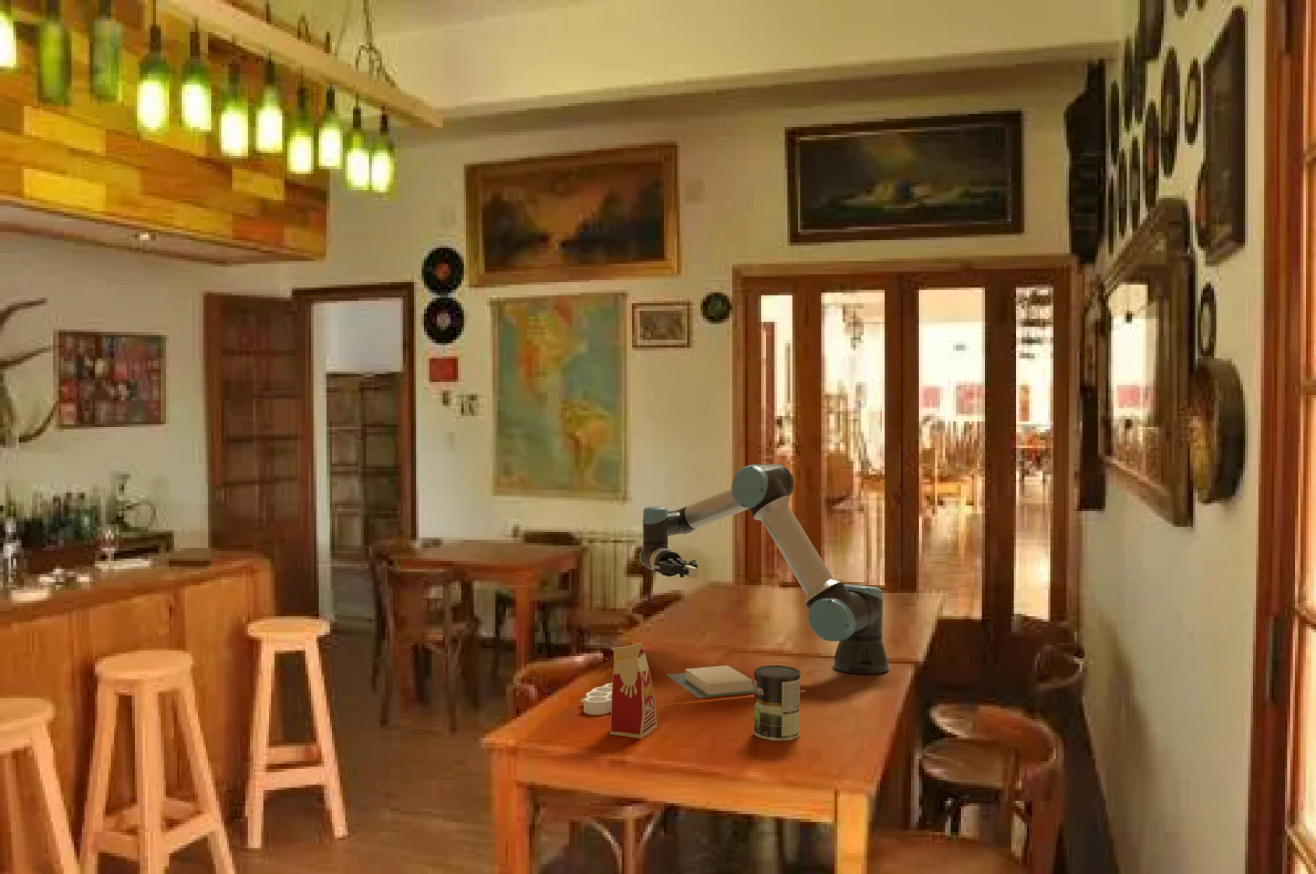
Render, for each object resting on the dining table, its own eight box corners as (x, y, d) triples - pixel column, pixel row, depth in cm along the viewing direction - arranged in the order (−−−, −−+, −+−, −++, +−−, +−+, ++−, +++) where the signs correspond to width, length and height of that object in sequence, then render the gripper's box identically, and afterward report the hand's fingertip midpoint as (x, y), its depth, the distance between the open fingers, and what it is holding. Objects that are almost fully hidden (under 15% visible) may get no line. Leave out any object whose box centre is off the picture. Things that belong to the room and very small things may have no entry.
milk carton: (657, 726, 232) (656, 639, 231) (643, 739, 223) (643, 648, 223) (619, 722, 235) (619, 636, 234) (604, 734, 226) (604, 644, 226)
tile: (685, 669, 270) (708, 684, 255) (727, 665, 274) (752, 680, 259) (685, 680, 270) (708, 696, 255) (727, 676, 274) (752, 691, 259)
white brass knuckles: (627, 719, 239) (569, 714, 243) (652, 699, 256) (597, 694, 260) (627, 705, 239) (569, 700, 243) (652, 686, 256) (597, 681, 260)
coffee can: (758, 742, 221) (758, 677, 221) (750, 727, 231) (750, 665, 231) (805, 740, 222) (805, 676, 222) (794, 726, 232) (795, 664, 232)
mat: (665, 676, 276) (665, 674, 276) (727, 671, 282) (727, 669, 282) (698, 700, 253) (698, 698, 253) (764, 693, 259) (764, 691, 259)
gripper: (687, 573, 304) (717, 585, 282) (645, 576, 300) (673, 588, 277) (686, 548, 304) (717, 558, 281) (645, 550, 299) (672, 561, 277)
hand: (695, 573), depth 279 cm, fingers closed
